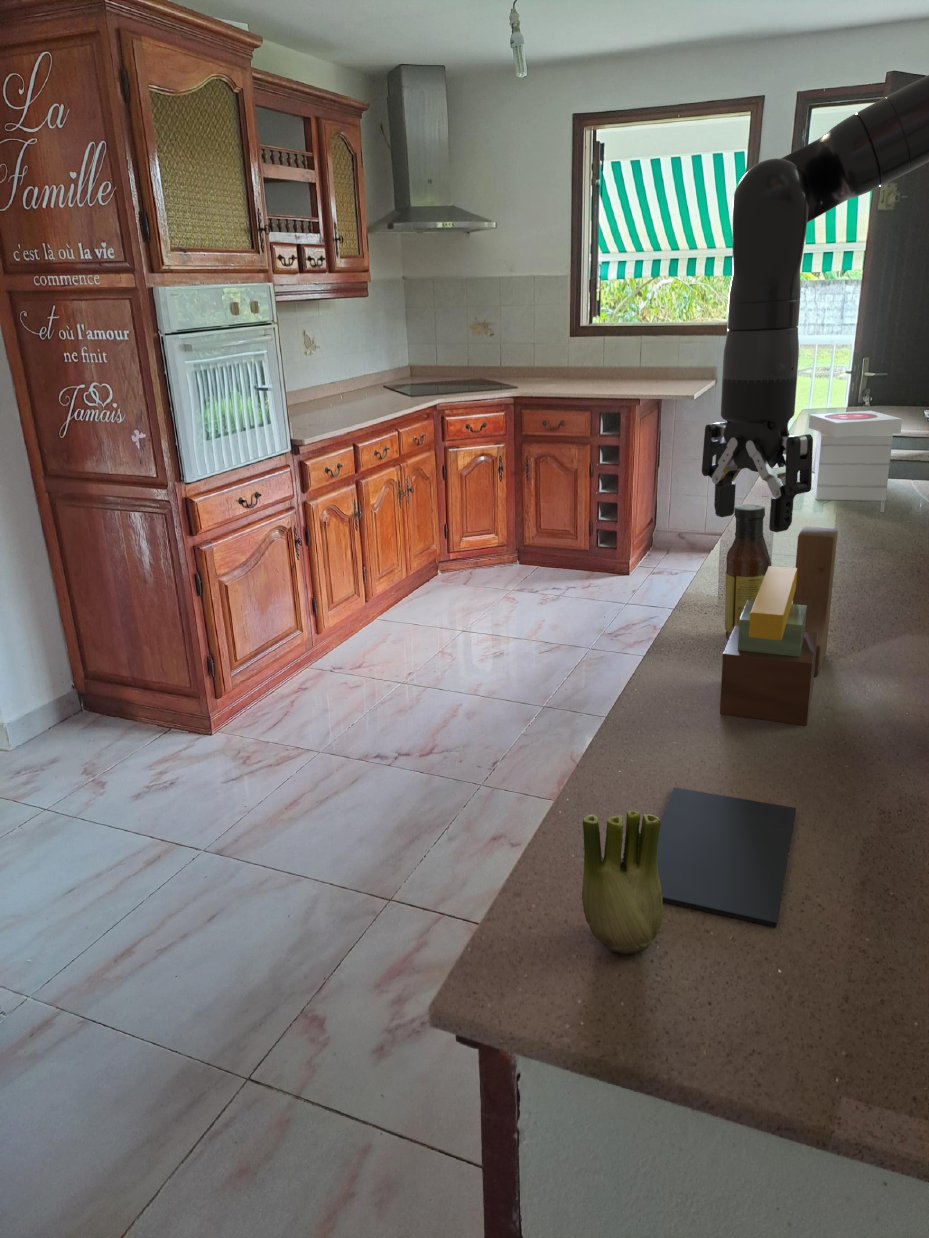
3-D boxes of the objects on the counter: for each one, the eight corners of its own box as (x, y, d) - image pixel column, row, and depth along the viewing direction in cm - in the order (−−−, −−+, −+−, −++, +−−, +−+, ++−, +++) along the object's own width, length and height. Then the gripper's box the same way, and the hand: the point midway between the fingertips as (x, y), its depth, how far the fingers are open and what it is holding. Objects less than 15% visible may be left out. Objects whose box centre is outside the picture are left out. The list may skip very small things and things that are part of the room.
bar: (766, 587, 114) (768, 565, 113) (795, 590, 113) (797, 567, 112) (748, 637, 99) (750, 612, 98) (781, 640, 97) (783, 615, 96)
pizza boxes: (881, 476, 225) (889, 404, 219) (895, 503, 198) (905, 422, 192) (801, 475, 231) (807, 405, 225) (805, 501, 204) (811, 422, 198)
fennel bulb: (577, 946, 71) (576, 819, 67) (602, 910, 75) (602, 788, 71) (646, 970, 68) (649, 840, 64) (667, 932, 72) (671, 806, 68)
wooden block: (818, 677, 116) (830, 545, 109) (782, 672, 118) (792, 543, 111) (826, 652, 123) (838, 527, 117) (792, 648, 125) (802, 525, 119)
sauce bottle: (777, 639, 128) (787, 506, 121) (749, 650, 125) (758, 514, 118) (740, 627, 133) (748, 499, 127) (713, 638, 130) (719, 507, 123)
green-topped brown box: (731, 681, 116) (736, 595, 112) (812, 690, 112) (820, 602, 108) (719, 713, 108) (724, 622, 103) (806, 725, 104) (815, 631, 99)
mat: (673, 790, 92) (673, 786, 92) (795, 812, 87) (795, 807, 87) (631, 895, 77) (631, 890, 77) (776, 927, 72) (776, 922, 72)
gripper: (839, 374, 88) (825, 531, 94) (739, 367, 100) (732, 506, 106) (782, 381, 85) (771, 542, 91) (687, 373, 97) (682, 516, 103)
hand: (750, 523), depth 98 cm, fingers open, 8 cm apart
